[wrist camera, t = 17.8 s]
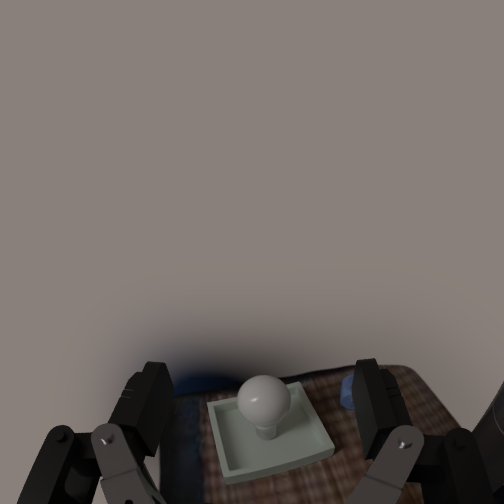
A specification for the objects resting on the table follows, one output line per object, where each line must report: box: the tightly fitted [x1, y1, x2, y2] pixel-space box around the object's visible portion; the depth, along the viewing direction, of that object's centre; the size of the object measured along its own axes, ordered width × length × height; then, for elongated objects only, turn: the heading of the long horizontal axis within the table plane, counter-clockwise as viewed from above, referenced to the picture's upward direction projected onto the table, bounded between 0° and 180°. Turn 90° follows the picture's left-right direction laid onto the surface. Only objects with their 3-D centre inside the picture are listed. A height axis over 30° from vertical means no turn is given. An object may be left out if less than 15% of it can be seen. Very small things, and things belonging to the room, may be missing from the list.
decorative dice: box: [340, 374, 354, 410], centre depth 40 cm, size 4×4×4 cm
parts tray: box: [207, 382, 335, 485], centre depth 36 cm, size 14×13×2 cm
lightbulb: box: [237, 375, 291, 440], centre depth 34 cm, size 6×6×11 cm
